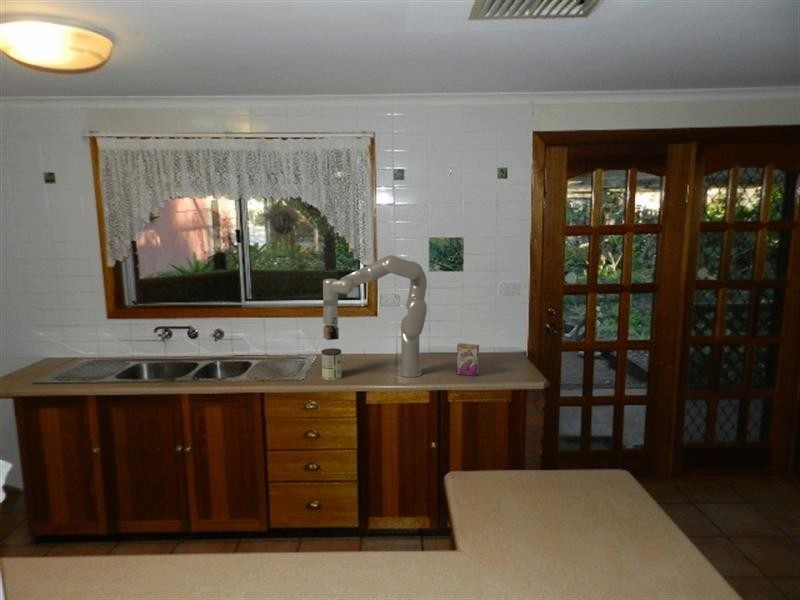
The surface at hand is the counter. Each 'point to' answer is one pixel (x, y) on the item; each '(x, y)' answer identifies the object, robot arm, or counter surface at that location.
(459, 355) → the candy bar box
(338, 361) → the coffee can
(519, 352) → the counter surface
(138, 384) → the counter surface
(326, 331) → the walnut cube
